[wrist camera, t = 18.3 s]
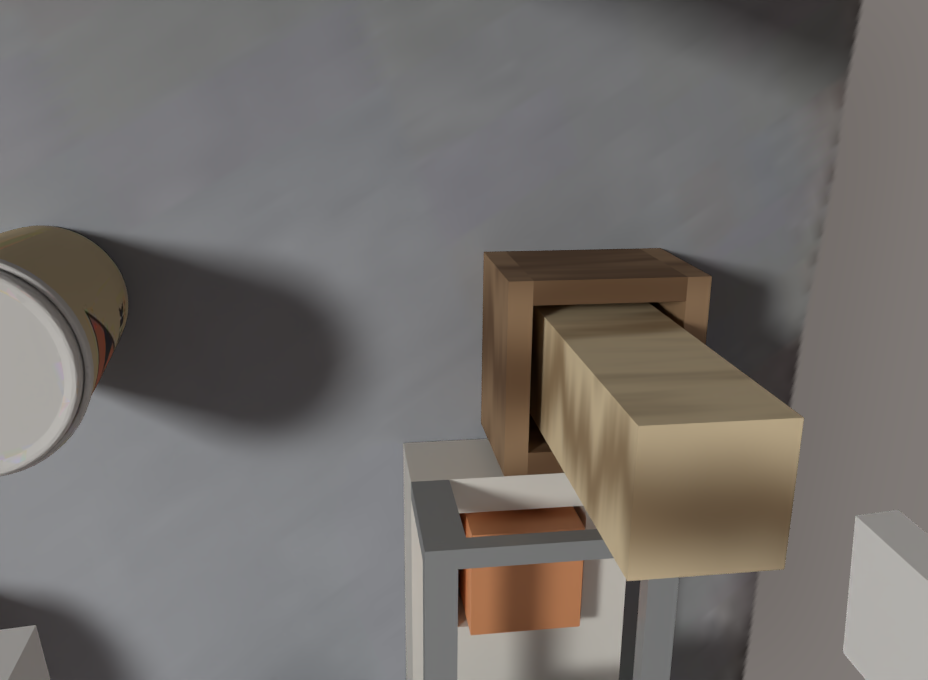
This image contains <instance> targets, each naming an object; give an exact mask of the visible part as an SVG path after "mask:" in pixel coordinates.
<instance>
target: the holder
mask: <svg viewBox="0 0 928 680" xmlns="http://www.w3.org/2000/svg"><path fill="white" fill-rule="evenodd" d="M711 280H712V276H710V275H708V274H707V273H705V272H703V271H701V270H699V269H697V268H696V267H694V266H692V265H690V264H688V263H686V262H685V261H683V260H681V259H679V258H677V257H676V256H674V255H672V254H670V253H668V252H666V251H665V250H663V249H661V248H649V249H601V250H553V251H504V252H484V275H483V339H482V404H481V424H482V426H483V428H484V431H485V433H486V435H487V438H488V440H489V442H490V445H491V447H492V449H493V452H494V454H495V457H496V459H497V461H498V464H499V466H500V468H501V471H502V473H503V475H504V476H518V475H536V474H554V473H564V471H563V470H562V468H561V466H560V464H559V463H558V461H557V459H556V457H555V456H554V454H553V452H552V451H551V449H550V447H549V445H548V444H547V442H546V440H545V438H544V437H543V435H542V433H541V432H540V430H539V428H538V426H537V425H536V423H535V421H534V419H533V418H532V416H531V414H530V413H529V411H530V381H531V350H532V319H533V306H540V305H574V304H608V303H641V302H648V303H649V304H651V305H652V306H654V307H655V308H656V309H658V310H659V311H660V312H662V313H663V314H664V315H666V316H667V317H668V318H670V319H671V320H672V321H674V322H675V323H677V324H678V325H679V326H681V327H682V328H683V329H685V330H686V331H687V332H689V333H690V334H691V335H693V336H694V337H695V338H697V339H698V340H700V341H701V342H702V343H704V344H705V345H706V334H707V323H708V312H709V302H710V291H711Z"/></svg>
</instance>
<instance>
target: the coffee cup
mask: <svg viewBox="0 0 928 680" xmlns="http://www.w3.org/2000/svg"><path fill="white" fill-rule="evenodd" d="M127 316H128V294H127V289H126V285H125V282H124V280H123V277H122V275H121V273H120V271H119V269H118V268H117V266H116V264H115V263H114V262H113V260H112V259H111V258H110V257H109V256H108V255H107V253H106V252H105V251H103V250H102V249H101V248H100V247H99V246H98V245H96V244H95V243H94V242H92V241H91V240H89V239H87V238H86V237H84V236H82V235H80V234H78V233H75V232H73V231H70V230H67V229H63V228H60V227H53V226H29V227H22V228H18V229H14V230H10V231H7V232H3V233H0V476H4V475H9V474H13V473H16V472H19V471H22V470H25V469H27V468H29V467H32V466H34V465H36V464H38V463H39V462H41V461H43V460H45V459H46V458H47V457H49V456H50V455H52V454H53V453H55V452H56V451H57V450H58V449H59V448H60V447H61V446H62V445H63V444H65V443H66V441H67V440H68V439H69V438H70V437H71V436H72V435H73V433H74V432H75V430H76V429H77V427H78V426H79V424H80V423H81V421H82V419H83V417H84V415H85V413H86V410H87V407H88V404H89V402H90V398H91V395H92V393H93V391H94V390H95V388H96V386H97V384H98V382H99V380H100V378H101V376H102V374H103V372H104V370H105V368H106V366H107V364H108V362H109V360H110V358H111V356H112V354H113V352H114V350H115V348H116V346H117V344H118V342H119V339H120V337H121V335H122V332H123V330H124V327H125V324H126V320H127Z"/></svg>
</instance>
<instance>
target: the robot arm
mask: <svg viewBox="0 0 928 680" xmlns="http://www.w3.org/2000/svg"><path fill="white" fill-rule="evenodd" d="M847 605H848V606H847V614H846V625H845V636H844V647H843V653H844V654H845V655H846V657H847V658H848V659H849V660H850V661H851V663H852V664H853V665H854V666H855V667H856V669H857V670H858V671H859V672H860V673H861V675H862V676H863V677H864V678H865V679H866V680H928V534H927V533H926V532H925V531H924V530H922V529H921V528H920V527H919V526H917V525H916V524H915V523H914V522H913V521H911V520H910V519H909V518H908V517H907V516H905V515H904V514H903V513H902V512H901V511H899V510H894V511H887V512H878V513H871V514H863V515H856V517H855V528H854V539H853V550H852V560H851V571H850V582H849V593H848V604H847ZM0 680H50V676H49V672H48V668H47V665H46V661H45V657H44V653H43V649H42V646H41V642H40V638H39V634H38V630H37V627H36V625H32V626H25V627H17V628H10V629H2V630H0Z"/></svg>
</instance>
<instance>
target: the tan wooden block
mask: <svg viewBox="0 0 928 680" xmlns="http://www.w3.org/2000/svg"><path fill="white" fill-rule="evenodd" d="M529 413H530V414H531V416H532V418H533V419H534V421H535V423H536V425H537V426H538V428H539V430H540V432H541V433H542V435H543V437H544V438H545V440H546V442H547V444H548V445H549V447H550V449H551V451H552V452H553V454H554V456H555V457H556V459H557V461H558V463H559V464H560V466H561V468H562V470H563V471H564V473H565V475H566V476H567V478H568V480H569V482H570V483H571V485H572V487H573V488H574V490H575V492H576V494H577V495H578V497H579V499H580V501H581V502H582V504H583V506H584V507H585V509H586V511H587V513H588V514H589V516H590V518H591V520H592V521H593V523H594V525H595V526H596V528H597V530H598V532H599V533H600V535H601V537H602V539H603V540H604V542H605V544H606V545H607V547H608V549H609V551H610V552H611V554H612V556H613V557H614V559H615V561H616V563H617V564H618V566H619V568H620V570H621V571H622V573H623V575H624V576H625V578H626V580H627V581H636V580H650V579H663V578H676V577H689V576H702V575H716V574H729V573H742V572H755V571H769V570H780V569H781V570H782V569H784V567H785V560H786V552H787V545H788V537H789V529H790V521H791V513H792V506H793V499H794V491H795V483H796V476H797V468H798V460H799V453H800V445H801V437H802V430H803V422H804V417H802V416H801V415H799V414H798V413H797V412H795V411H794V410H793V409H792V408H790V407H789V406H787V405H786V404H785V403H783V402H782V401H781V400H779V399H778V398H777V397H775V396H774V395H773V394H771V393H770V392H769V391H767V390H766V389H764V388H763V387H762V386H760V385H759V384H758V383H756V382H755V381H754V380H752V379H751V378H750V377H748V376H747V375H746V374H744V373H743V372H741V371H740V370H739V369H737V368H736V367H735V366H733V365H732V364H731V363H729V362H728V361H727V360H725V359H724V358H723V357H721V356H720V355H718V354H717V353H716V352H714V351H713V350H712V349H710V348H709V347H708V346H706V345H705V344H704V343H702V342H701V341H700V340H698V339H697V338H695V337H694V336H693V335H691V334H690V333H689V332H687V331H686V330H685V329H683V328H682V327H681V326H679V325H678V324H677V323H675V322H674V321H672V320H671V319H670V318H668V317H667V316H666V315H664V314H663V313H662V312H660V311H659V310H658V309H656V308H655V307H654V306H652V305H651V304H649V303H648V302H641V303H608V304H574V305H540V306H533V319H532V350H531V381H530V411H529Z"/></svg>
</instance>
